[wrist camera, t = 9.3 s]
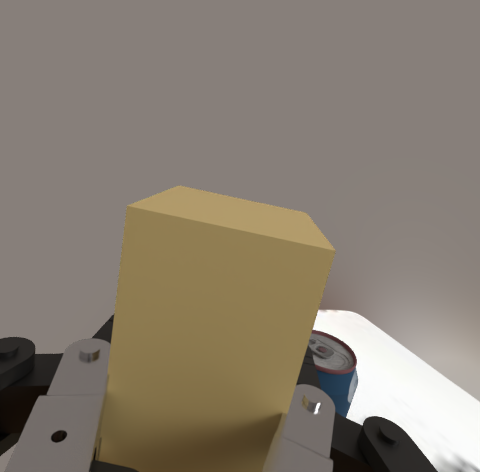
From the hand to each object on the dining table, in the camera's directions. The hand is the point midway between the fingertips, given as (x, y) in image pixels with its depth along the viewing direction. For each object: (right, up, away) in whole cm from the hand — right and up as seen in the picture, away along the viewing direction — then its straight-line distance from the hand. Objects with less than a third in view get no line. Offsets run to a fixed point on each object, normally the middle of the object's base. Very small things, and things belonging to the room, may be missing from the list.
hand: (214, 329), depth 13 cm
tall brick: (-1, -7, -1) cm, 7 cm away
